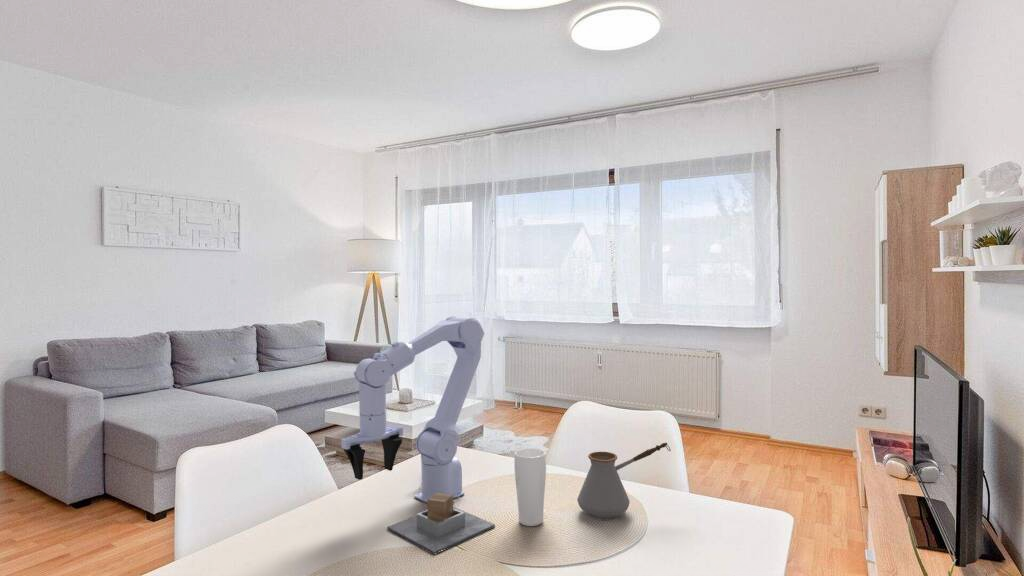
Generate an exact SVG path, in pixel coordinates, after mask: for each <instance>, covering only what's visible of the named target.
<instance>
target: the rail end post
mask: <svg viewBox="0 0 1024 576" xmlns="http://www.w3.org/2000/svg"><path fill="white" fill-rule="evenodd" d="M426 503H427V510H428V517H429V518H431V519H433V520H435V521H437V522H440V521H442V520H445V519H447V518H450V517H452V516H454V513H453V507H454V499H453V495H450V494H443V493H435V494H434V495H433V496H432V497H430V498H429V499H428V500H427V502H426Z"/></svg>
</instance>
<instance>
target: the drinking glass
mask: <svg viewBox="0 0 1024 576" xmlns="http://www.w3.org/2000/svg"><path fill="white" fill-rule="evenodd" d="M546 476H547V457H546V451H544V450H543V449H540V448H536V447H534V448H533V447H531V448H528V447H527V448H520V449H517V450H516V451H515V452H514V478H515V489H516V499H517V510H518V511H517V512H518V521H519V523H520V524H521V525H522V526H526V527H536V526H540V525H541V524H543V522H544V509H545V508H544V507H545V506H544V505H545V492H546V478H547V477H546Z"/></svg>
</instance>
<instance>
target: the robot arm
mask: <svg viewBox="0 0 1024 576" xmlns="http://www.w3.org/2000/svg"><path fill="white" fill-rule="evenodd" d="M484 335H485V331H484V329H483V327H482V325H481V323H480V321H479V320H478V319H477V318H475V317H474V318H473V317H467V318H466V317H457V316H449V317H447V318H446V319H443V320H440V321H439V322H438V323H436V325H434V326H432V327H431V328H430V329H427V330H426V331H425V332H423V333H422V334H420V335H418V336H417V337H415V338H414V339H412V340H411V341H409V342H408V343H407V342H405V341H393V342H392V343H390V345H391V346H390V347H388V348H387V349H385V350H384V351H381V352H375V353H374V354H373V357H372V358H364V359H362V360H361V361H359V363H358V364H357V365H356V368H355V371H353V376H354V379H355V380H356V381H357V382H358V386H359V387H358V389H359V391H358V395H359V396H358V397H359V399H358V400H359V403H358V404H359V407H358V409H359V432H358V433H355V434H352V435H350V436H347V437H344V438H341V439H340V440H341V441H340V442H341V449H343V452H345V454H346V456H347V458H348V460H349V462H350V464H351V467H352V471H353V474H354V478H355V479H356V480H358V481H359V480H360V481H362V480H363V479H364V460H365V459H364V458H365V453H366V449H363V448H362V446H361V445H366V444H370V443H373V442H378V441H381V444H382V449H383V463H384V464H383V465H384V470H387V471H388V472H391V471H393V468H394V464H395V460H396V456H397V454H398V451H399V450H400V448H401V445H402V444H403V438H402V436H403V435H404V427H403V426H400V425H396V426H395V425H394V426H388V427H387V402H386V401H387V400H386V399H387V398H386V397H387V395H386V394H387V393H386V391H387V390H386V384H387V383H388V382H389V380H390V377H392V376H393V375H395V374H397V373H398V372H400V371H402V370H404V369H405V368H406V367H408V366H410V365H412V364H413V363H414V361H415V358H416V356H417V355H419V354H421V353H423V352H425V351H427V350H428V349H430V348H433V347H434V346H436V345H438V344H440V343H442V342H447V343H448V344H449V346H450V347H451V348H453V350H454V352H455V355H456V360H455V363H454V365H453V369H452V370H451V374H450V376H449V379H448V382H447V384H446V386H445V389H444V391H443V393H442V397H441V399H440V402H439V405H438V407H437V410H436V413H435V415H434V417H433V418H431V419H430V420H429V421H427V422H426V423H425V425H424V428H423V429H422V430H421V432H420V433H419V434H418V435H417V437H416V440H415V447H416V451H417V452H418V453H419V454H420V459H421V460H420V461H421V462H420V464H421V492H419V493H416V494H414V498H415V499H418V500H420V501H422V502H425V503H427V500H428V499H429V498H430V497H432V496H433V495H434V494H435V493H443V494H450V495H453V500H454V499H456V498H458V497H461V496H463V495H465V491H463V468H462V465H461V464H462V463H461V461H460V460H459V458H458V457H456V454H457V450H458V440H459V437H460V434H459V431H458V427H457V422H458V418H459V417H460V414H461V411H462V408H463V406H464V403H465V400H466V397H467V395H468V393H469V391H470V387H471V384H472V382H473V379H474V377H475V374H476V372H477V369H478V366H479V363H480V361H481V358H482V356H481V355H482V340H483V337H484Z"/></svg>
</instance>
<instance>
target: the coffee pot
mask: <svg viewBox="0 0 1024 576" xmlns="http://www.w3.org/2000/svg"><path fill="white" fill-rule="evenodd" d="M663 448H666V450H667V451H668V452H671V448H670V446H669V445H668V442H662V443H660V445H655V447H651V448H648V449H646V450H645V451H642V452H641V453H639V454H637V455H635V456H634V457H633V458H631V459H628V460H627V461H624V462H622V463H619V464H617V465H616V464H615V463H616V461H617V460H618V455H617V454H616V453H614V452H610V451H609V452H608V451H593V452H591V453H589V454H588V456H587V458H588V459H589V460H590V464H591V465H590V467H589V470H588V472H587V475H586V477H585V480H584V481H583V484H582V487H581V489H580V492H579V493H578V495H577V500H576V501H577V504H578V506H579V508H580V509H581V510H582V512H584V513H586V516H588V517H589V518H591V519H594V520H598V521H613V520H614V521H615V520H616V519H619V518H620V517H622V515H623V514H625V512H627V510H628V509H629V507H630V503H631V502H630V499H629V496H628V494H627V492H626V489H625V486H624V485H623V484H624V483H623V482H622V480H621V478H620V475H619V473H618V471H620V469H623V468H625V467H627V466H629V465H631V464H632V463H635V462H637V461H640V460H641V459H644V458H646V457H649V456H651V455H652V454H654V453H656V452H657V451H658V452H659V451H661V449H663Z"/></svg>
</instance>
